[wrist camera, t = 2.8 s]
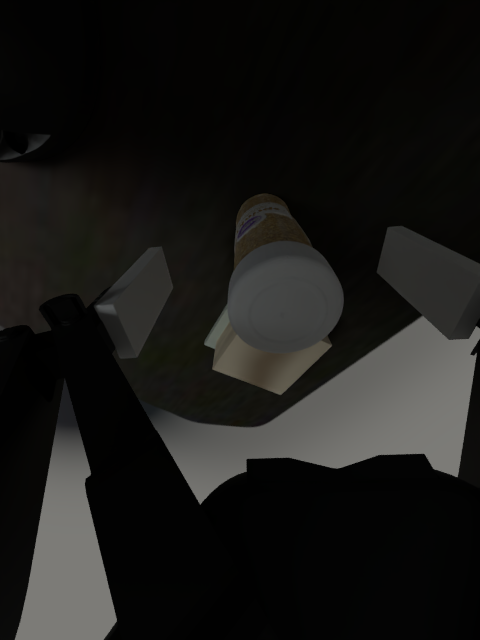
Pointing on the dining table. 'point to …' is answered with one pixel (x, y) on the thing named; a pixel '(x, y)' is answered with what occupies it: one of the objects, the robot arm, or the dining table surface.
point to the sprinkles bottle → (279, 281)
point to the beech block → (263, 362)
